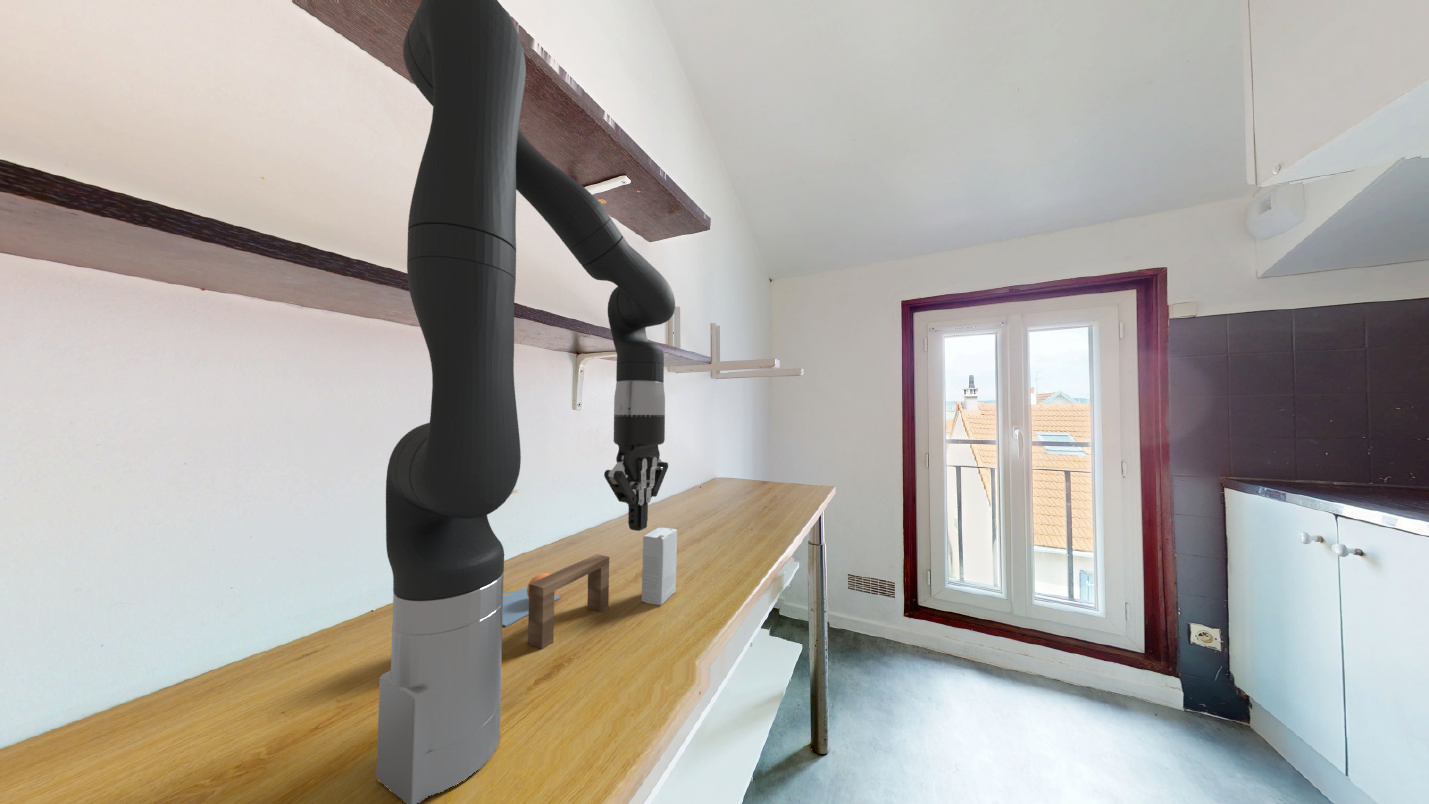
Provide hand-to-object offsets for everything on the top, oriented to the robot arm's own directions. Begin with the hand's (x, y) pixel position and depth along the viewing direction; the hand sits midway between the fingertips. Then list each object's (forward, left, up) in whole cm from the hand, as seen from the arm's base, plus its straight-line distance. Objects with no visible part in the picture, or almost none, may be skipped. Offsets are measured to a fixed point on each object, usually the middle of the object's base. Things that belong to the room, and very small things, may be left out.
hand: (638, 528), depth 58 cm
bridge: (0, +13, -17) cm, 21 cm away
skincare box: (+14, +5, -17) cm, 23 cm away
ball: (+3, +23, -14) cm, 28 cm away
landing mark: (0, +27, -17) cm, 32 cm away
